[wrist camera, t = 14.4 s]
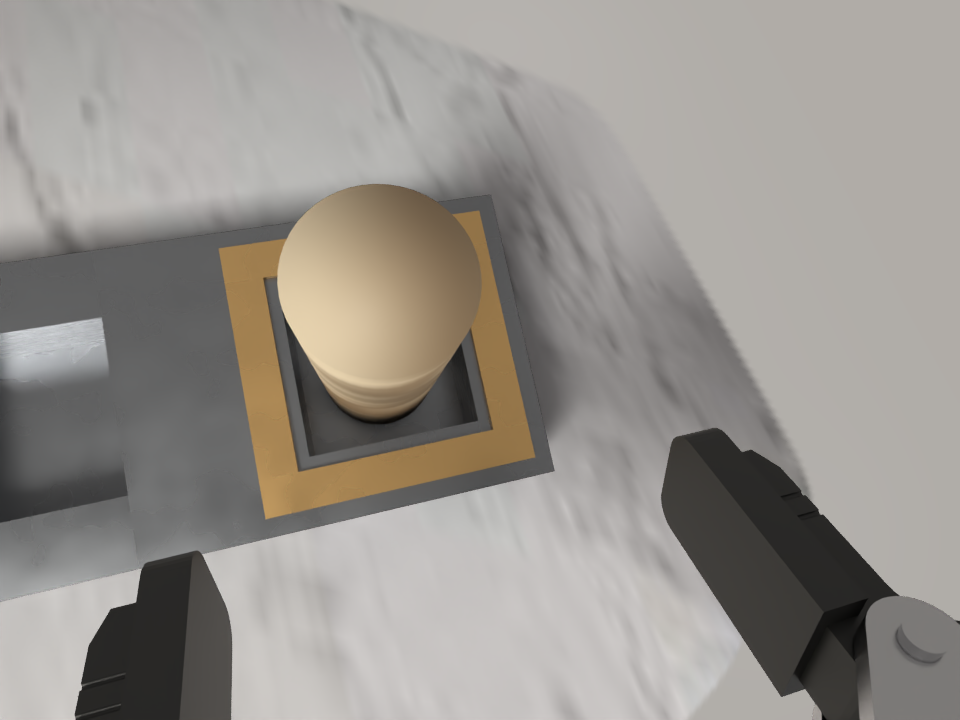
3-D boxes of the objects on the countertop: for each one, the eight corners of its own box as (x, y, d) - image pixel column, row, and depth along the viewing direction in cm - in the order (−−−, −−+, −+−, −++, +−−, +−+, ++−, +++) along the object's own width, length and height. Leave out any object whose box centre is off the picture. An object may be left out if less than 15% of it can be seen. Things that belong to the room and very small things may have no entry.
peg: (335, 434, 24) (297, 397, 12) (315, 330, 24) (260, 198, 13) (441, 412, 25) (501, 357, 13) (420, 311, 25) (458, 171, 14)
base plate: (-72, 610, 22) (-172, 642, 18) (-103, 321, 23) (-203, 289, 19) (526, 470, 26) (556, 470, 22) (472, 233, 27) (491, 192, 23)
